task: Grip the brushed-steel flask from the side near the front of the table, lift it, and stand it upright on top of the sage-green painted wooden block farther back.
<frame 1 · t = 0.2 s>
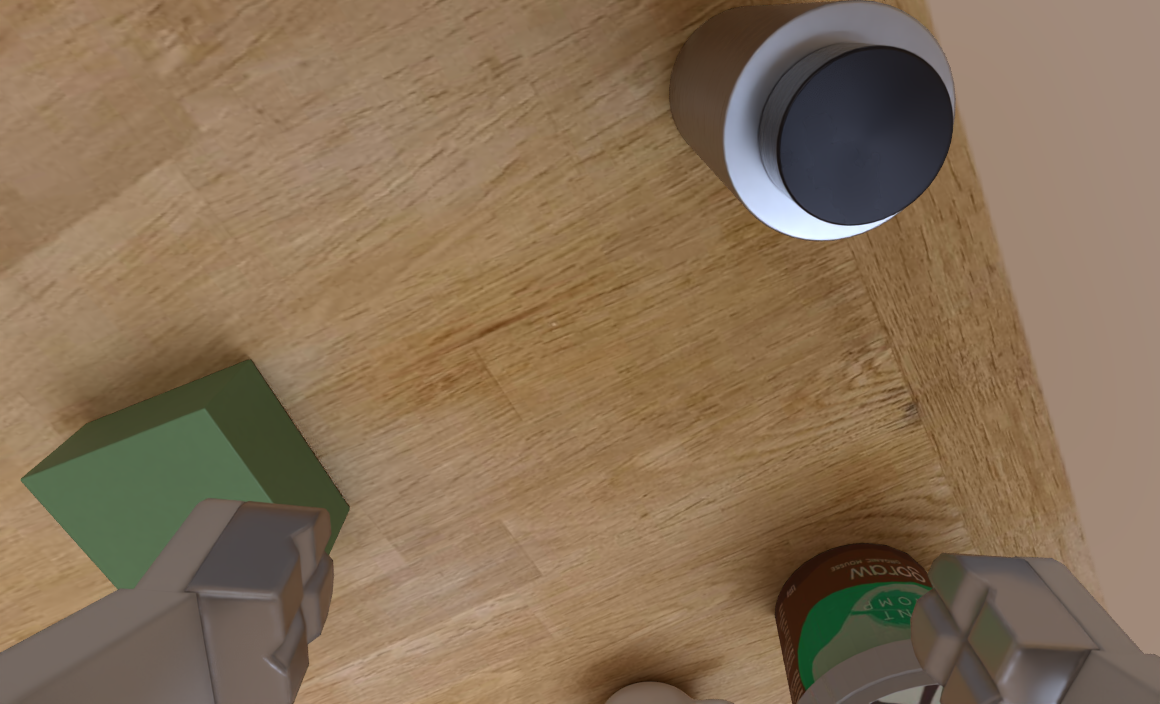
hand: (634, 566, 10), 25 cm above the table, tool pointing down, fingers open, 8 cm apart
green block: (222, 467, 38), on the table
flask: (743, 89, 31), on the table
teacup: (661, 696, 47), on the table
food container: (852, 566, 42), on the table
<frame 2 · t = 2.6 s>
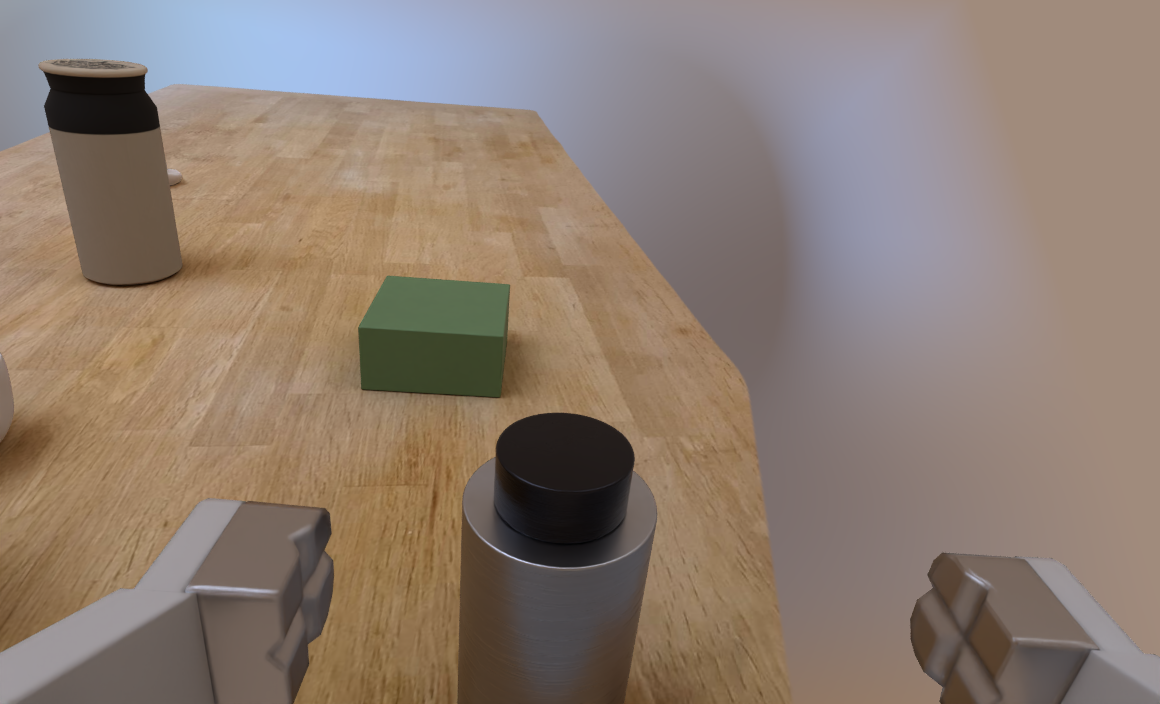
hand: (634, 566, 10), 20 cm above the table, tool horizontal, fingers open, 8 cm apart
green block: (440, 361, 56), on the table
travel mug: (134, 273, 67), on the table
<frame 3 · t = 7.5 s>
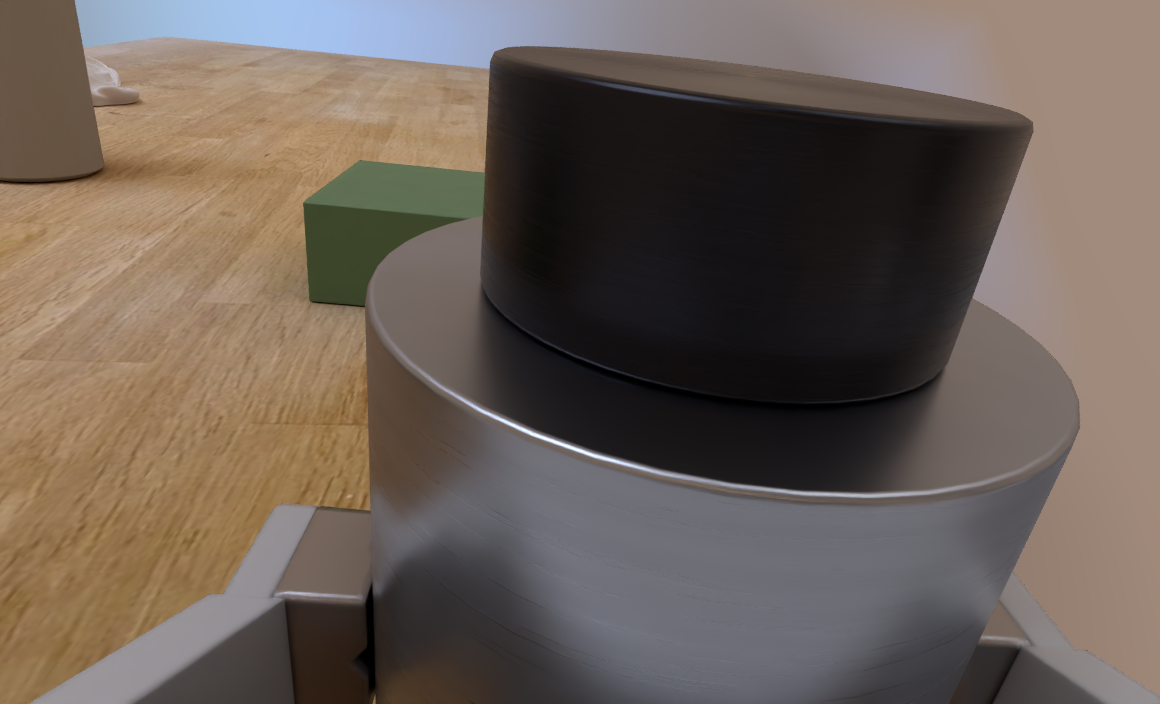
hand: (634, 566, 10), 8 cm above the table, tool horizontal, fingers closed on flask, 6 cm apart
green block: (428, 276, 40), on the table
rose: (89, 101, 77), on the table
travel mug: (39, 173, 51), on the table
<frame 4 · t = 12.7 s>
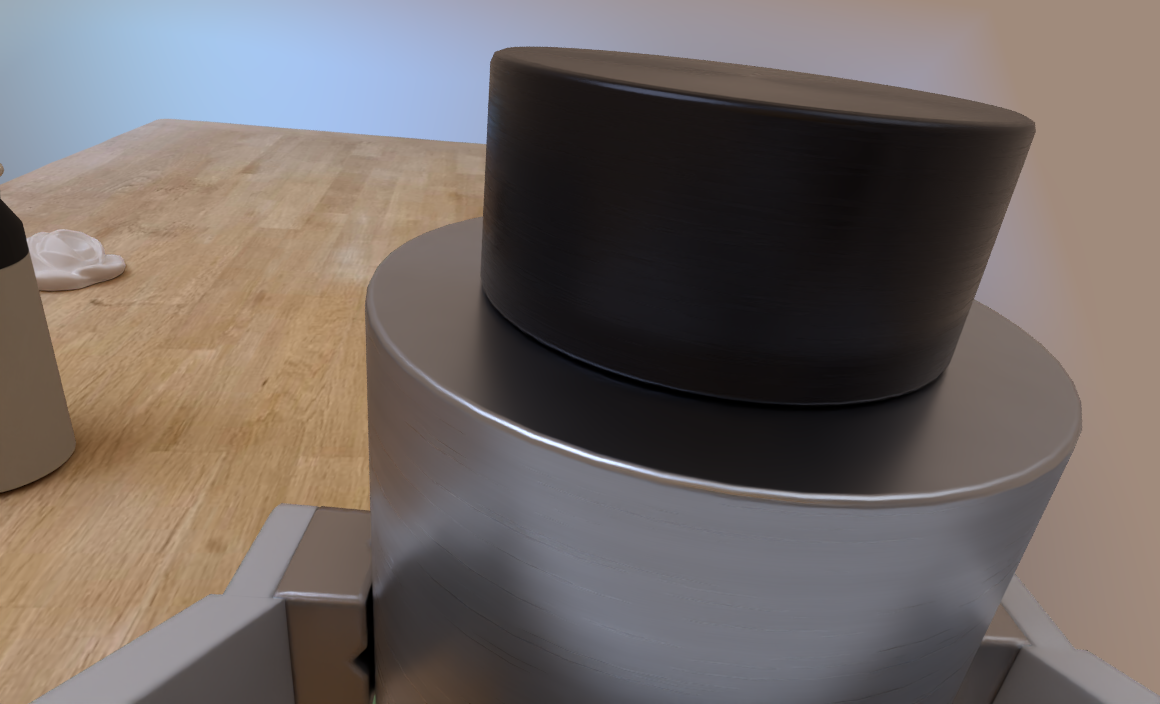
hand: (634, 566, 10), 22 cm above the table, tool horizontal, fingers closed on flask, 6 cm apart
rose: (70, 276, 70), on the table
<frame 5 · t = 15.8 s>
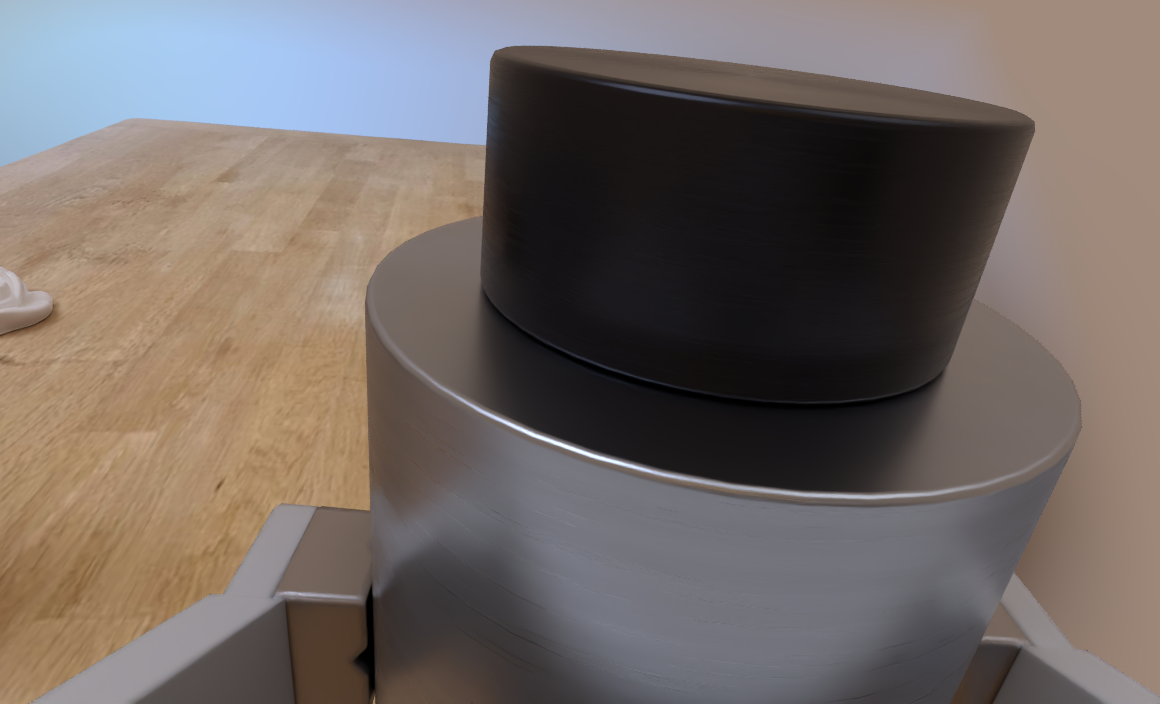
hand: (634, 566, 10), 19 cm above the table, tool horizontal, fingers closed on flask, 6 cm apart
when the fingers open (13 cm above the table, at t = 18.2 s): flask stays where it is, resting on green block.
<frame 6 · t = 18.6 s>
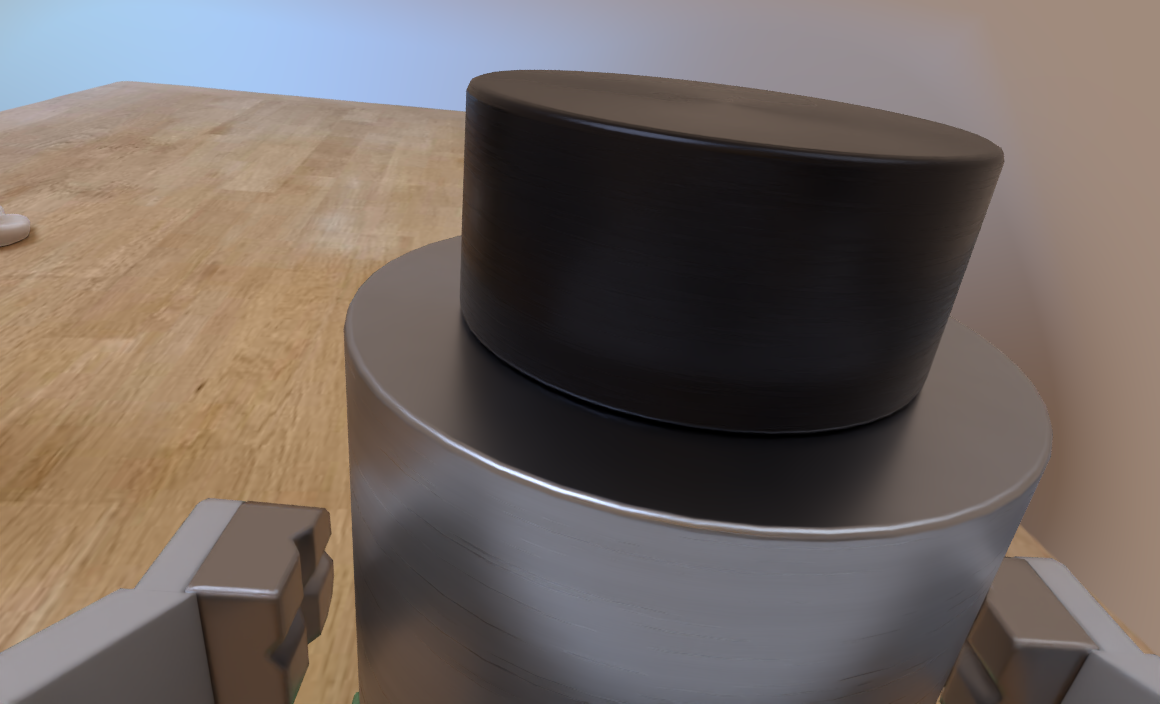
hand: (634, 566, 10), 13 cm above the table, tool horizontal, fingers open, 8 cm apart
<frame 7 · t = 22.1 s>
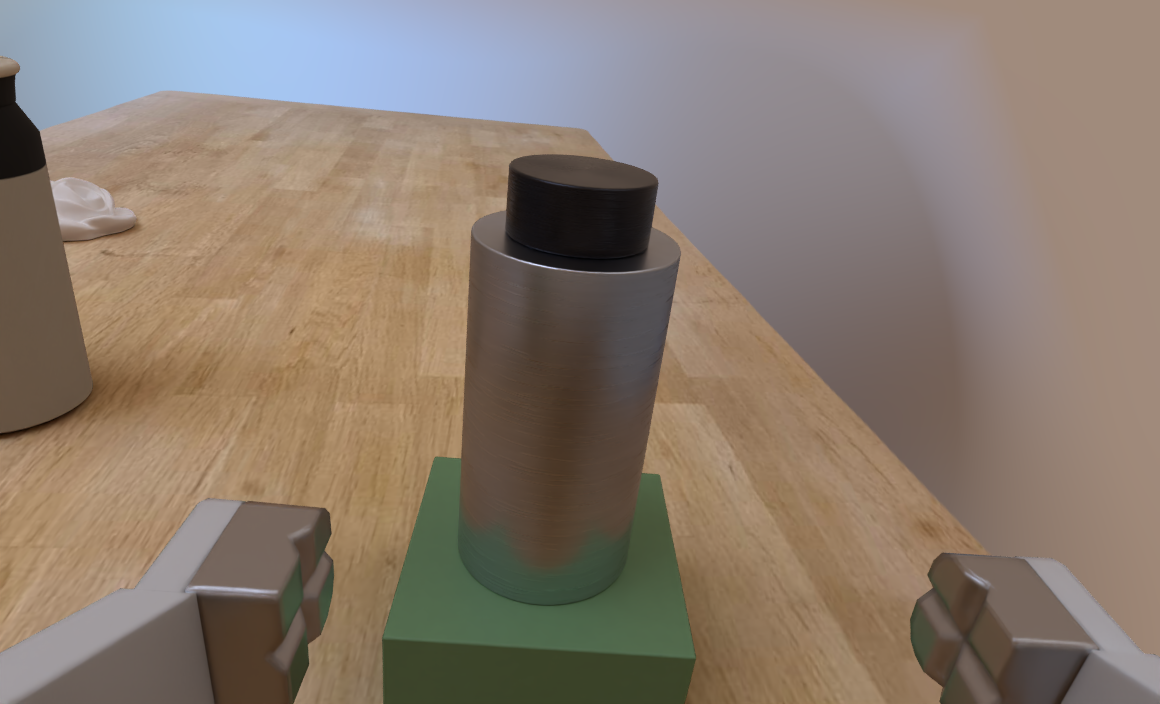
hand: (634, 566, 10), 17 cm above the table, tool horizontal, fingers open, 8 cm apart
green block: (534, 636, 29), on the table
rose: (77, 228, 66), on the table
flask: (543, 541, 27), point 5 cm above the table, touching green block
travel mug: (9, 405, 40), on the table
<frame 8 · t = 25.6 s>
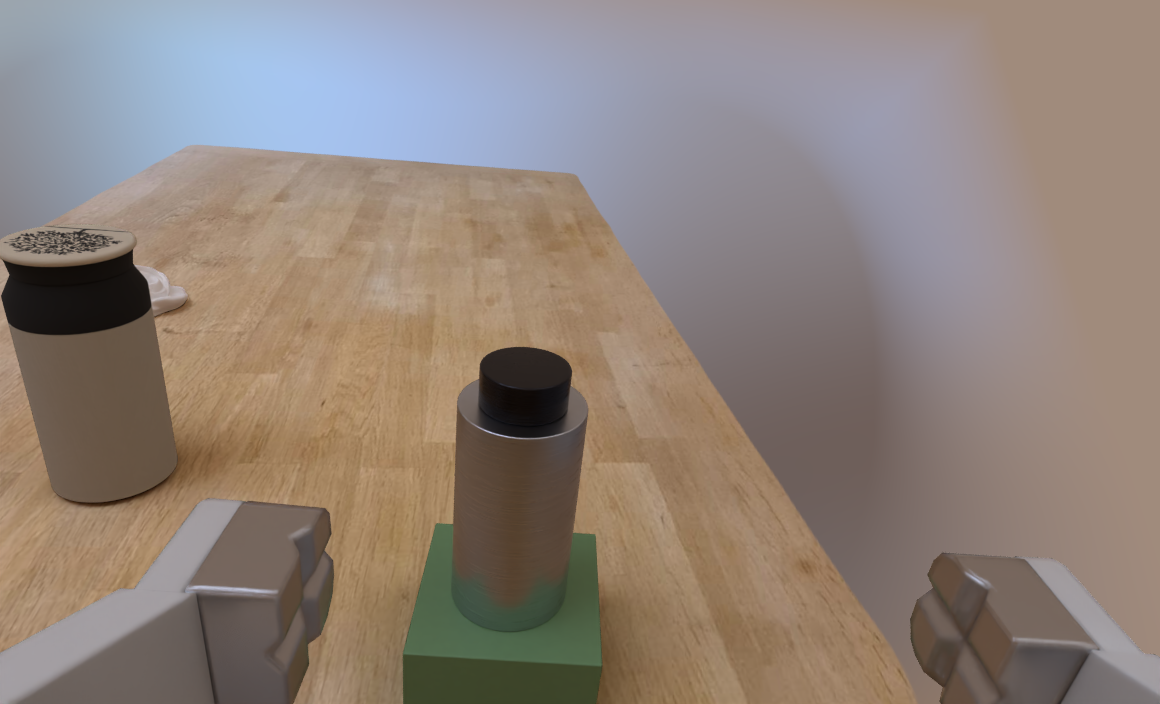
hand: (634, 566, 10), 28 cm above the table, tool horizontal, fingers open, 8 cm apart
green block: (505, 650, 42), on the table
rose: (140, 306, 79), on the table
flask: (509, 587, 40), point 5 cm above the table, touching green block
travel mug: (117, 475, 53), on the table
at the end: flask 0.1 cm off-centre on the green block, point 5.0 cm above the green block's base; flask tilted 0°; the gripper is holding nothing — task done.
